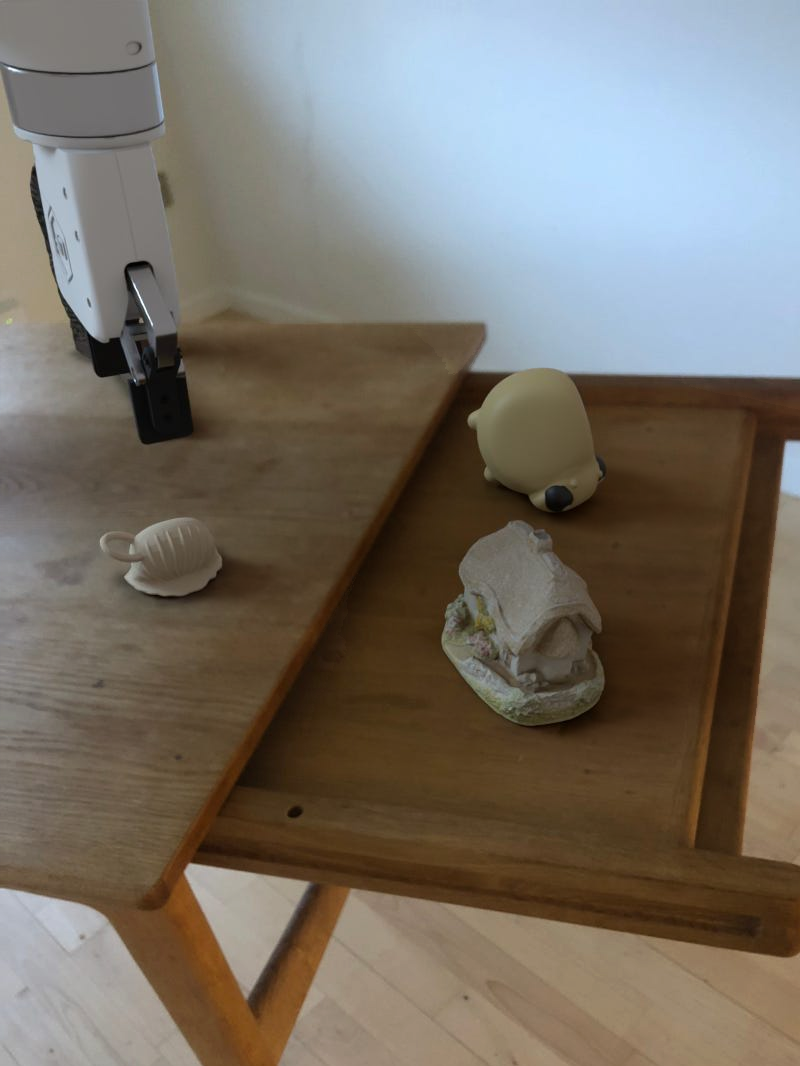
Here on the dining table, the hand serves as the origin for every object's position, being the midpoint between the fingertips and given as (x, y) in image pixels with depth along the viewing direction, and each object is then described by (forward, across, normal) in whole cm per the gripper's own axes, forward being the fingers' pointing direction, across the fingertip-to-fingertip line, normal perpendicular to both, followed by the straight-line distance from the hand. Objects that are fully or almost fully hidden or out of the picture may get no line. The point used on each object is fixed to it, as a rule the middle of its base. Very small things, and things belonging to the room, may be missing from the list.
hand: (142, 403), depth 61 cm
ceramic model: (+15, +18, +19) cm, 30 cm away
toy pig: (+15, 0, +31) cm, 35 cm away
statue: (+14, -40, +7) cm, 43 cm away
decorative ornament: (+14, 0, 0) cm, 14 cm away
